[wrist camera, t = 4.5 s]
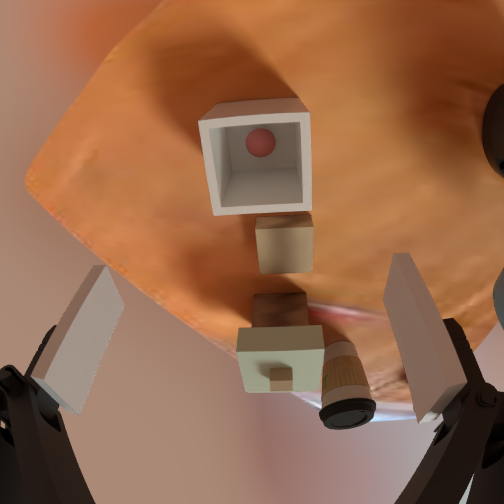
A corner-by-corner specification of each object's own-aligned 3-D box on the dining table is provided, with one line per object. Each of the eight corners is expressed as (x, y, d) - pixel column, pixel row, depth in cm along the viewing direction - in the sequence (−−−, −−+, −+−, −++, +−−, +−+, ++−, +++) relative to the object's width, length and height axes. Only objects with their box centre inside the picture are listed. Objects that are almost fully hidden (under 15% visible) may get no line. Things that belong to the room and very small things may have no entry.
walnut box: (305, 292, 47) (310, 332, 40) (304, 326, 52) (307, 364, 45) (254, 294, 48) (251, 334, 41) (258, 327, 52) (256, 366, 46)
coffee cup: (305, 359, 58) (308, 428, 45) (330, 330, 52) (340, 405, 40) (346, 367, 59) (355, 432, 47) (374, 340, 53) (389, 409, 41)
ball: (274, 124, 32) (274, 131, 29) (276, 151, 34) (276, 160, 31) (245, 126, 32) (243, 133, 30) (248, 153, 34) (246, 162, 31)
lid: (321, 324, 39) (326, 361, 35) (316, 369, 46) (319, 401, 41) (238, 327, 41) (234, 364, 36) (247, 371, 47) (244, 403, 42)
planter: (298, 97, 31) (309, 112, 22) (302, 171, 36) (311, 210, 28) (217, 103, 31) (197, 120, 23) (227, 175, 37) (213, 215, 29)
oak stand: (310, 214, 39) (313, 226, 37) (310, 258, 43) (312, 272, 41) (256, 217, 40) (255, 229, 37) (260, 260, 44) (259, 274, 41)
